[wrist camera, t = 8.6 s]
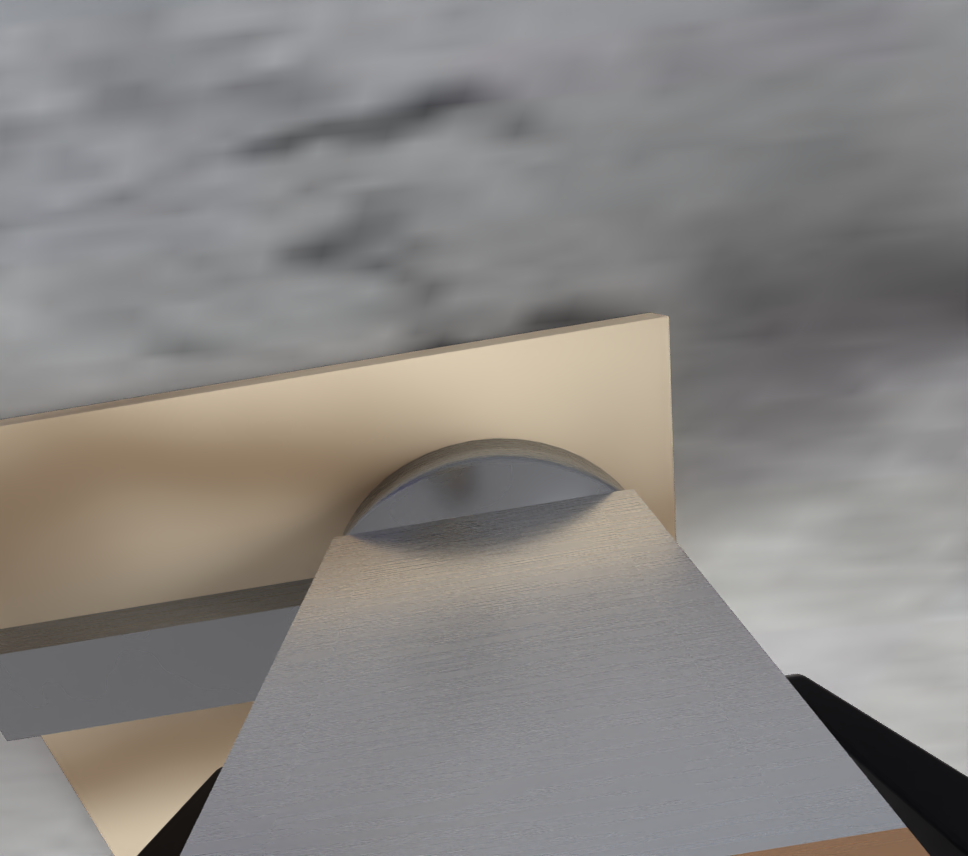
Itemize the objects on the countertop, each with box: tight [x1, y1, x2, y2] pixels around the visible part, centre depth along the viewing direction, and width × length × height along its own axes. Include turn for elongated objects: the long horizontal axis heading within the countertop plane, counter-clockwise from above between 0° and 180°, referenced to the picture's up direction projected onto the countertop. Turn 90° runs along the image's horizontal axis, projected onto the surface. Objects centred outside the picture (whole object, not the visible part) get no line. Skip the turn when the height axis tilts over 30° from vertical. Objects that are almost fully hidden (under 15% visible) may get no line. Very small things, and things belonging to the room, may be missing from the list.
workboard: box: [0, 313, 676, 856], centre depth 13 cm, size 20×17×1 cm
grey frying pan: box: [0, 438, 625, 741], centre depth 9 cm, size 8×16×5 cm, turn 99°
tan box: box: [180, 489, 930, 856], centre depth 7 cm, size 6×6×7 cm
